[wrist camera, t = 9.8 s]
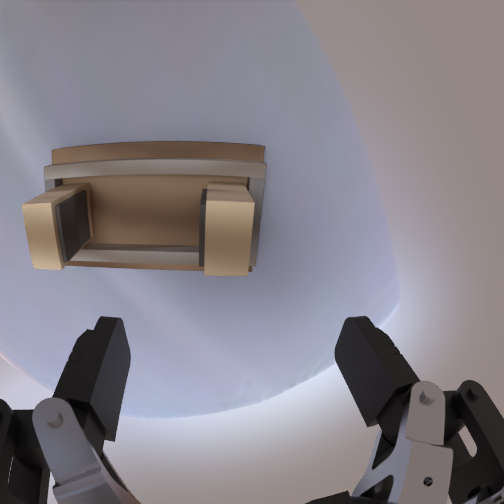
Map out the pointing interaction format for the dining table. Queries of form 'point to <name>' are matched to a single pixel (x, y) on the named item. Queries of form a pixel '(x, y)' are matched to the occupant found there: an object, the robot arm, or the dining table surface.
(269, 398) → the dining table surface
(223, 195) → the maple finger
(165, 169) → the rail base
